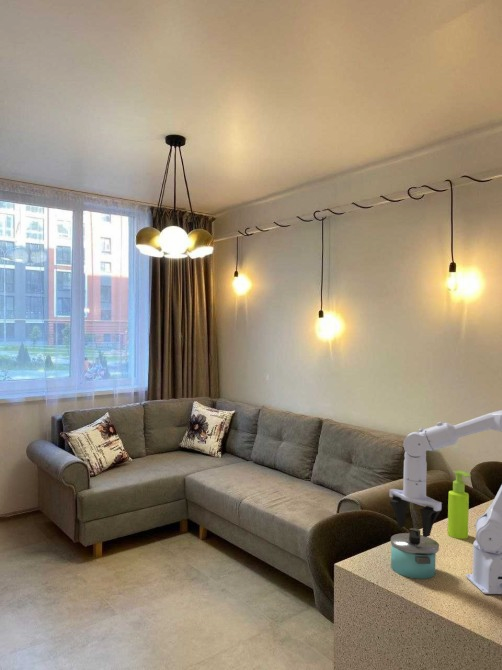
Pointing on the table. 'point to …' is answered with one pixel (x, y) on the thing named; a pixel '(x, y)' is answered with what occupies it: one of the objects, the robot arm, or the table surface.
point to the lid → (414, 543)
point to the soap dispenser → (458, 508)
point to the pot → (412, 564)
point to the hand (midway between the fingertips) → (413, 531)
